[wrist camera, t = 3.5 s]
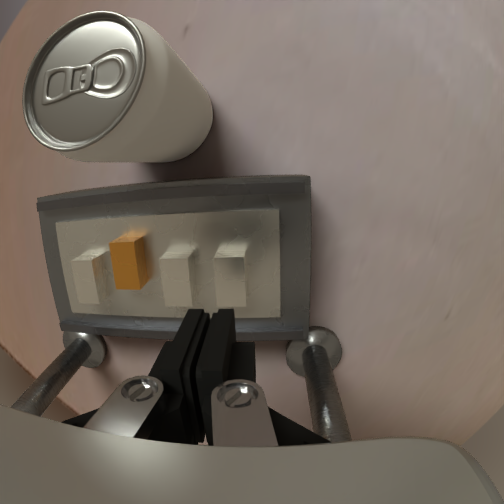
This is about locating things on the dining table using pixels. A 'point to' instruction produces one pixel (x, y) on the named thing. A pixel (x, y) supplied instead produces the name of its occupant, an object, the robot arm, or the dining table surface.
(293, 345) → the cord stand
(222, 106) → the dining table surface
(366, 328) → the dining table surface
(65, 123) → the can
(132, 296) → the breaker panel
